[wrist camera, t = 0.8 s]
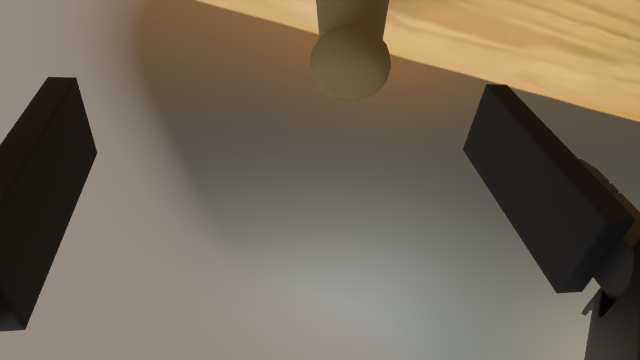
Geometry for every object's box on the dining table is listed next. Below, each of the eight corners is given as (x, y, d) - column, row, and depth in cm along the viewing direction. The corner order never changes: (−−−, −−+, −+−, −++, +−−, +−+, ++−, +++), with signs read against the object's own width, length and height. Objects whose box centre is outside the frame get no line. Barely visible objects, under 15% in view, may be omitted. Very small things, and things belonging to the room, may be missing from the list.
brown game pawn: (298, -31, 33) (285, 94, 29) (340, -95, 29) (333, 44, 24) (364, 2, 36) (361, 121, 32) (413, -52, 31) (418, 80, 27)
